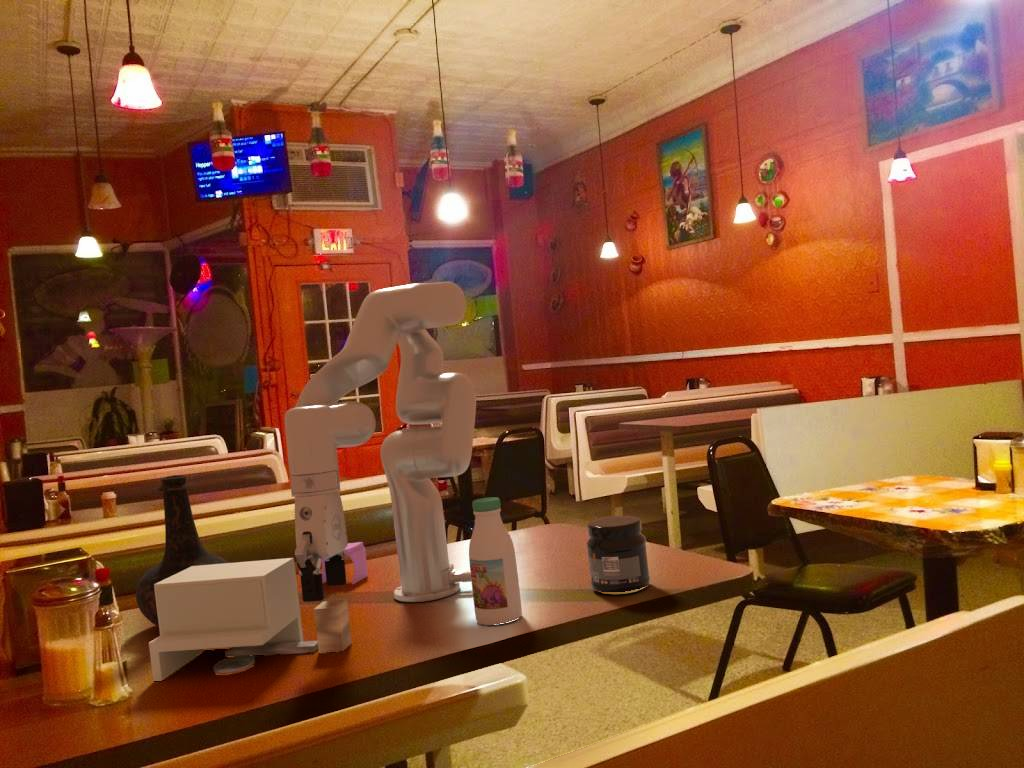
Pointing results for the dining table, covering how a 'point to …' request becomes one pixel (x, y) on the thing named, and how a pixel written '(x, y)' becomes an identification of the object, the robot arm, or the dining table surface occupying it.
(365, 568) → the toy chair
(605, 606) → the dining table surface
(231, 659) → the token
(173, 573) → the glass bottle
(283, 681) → the dining table surface
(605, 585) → the supplement container
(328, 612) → the tool
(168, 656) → the white box on stand
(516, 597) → the milk bottle
